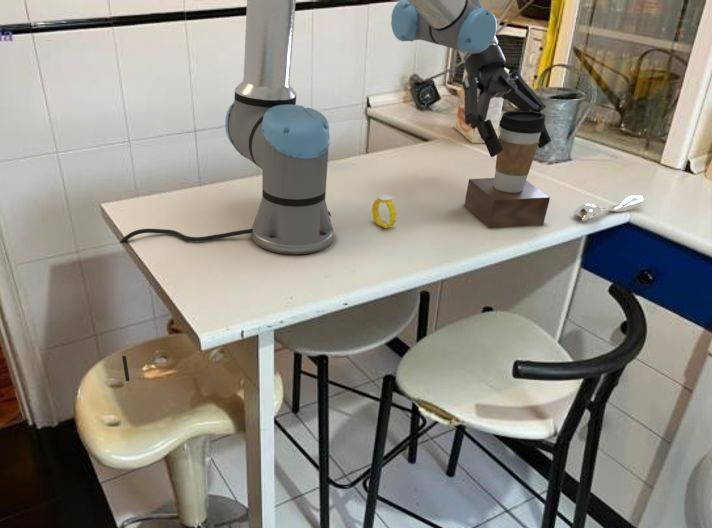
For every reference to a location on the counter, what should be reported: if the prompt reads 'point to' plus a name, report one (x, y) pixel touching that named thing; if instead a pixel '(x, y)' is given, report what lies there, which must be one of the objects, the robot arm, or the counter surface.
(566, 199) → the counter surface
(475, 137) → the coffeecake box
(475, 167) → the counter surface
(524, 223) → the walnut block
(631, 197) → the silver scoop
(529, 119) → the coffee cup
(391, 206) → the watch
